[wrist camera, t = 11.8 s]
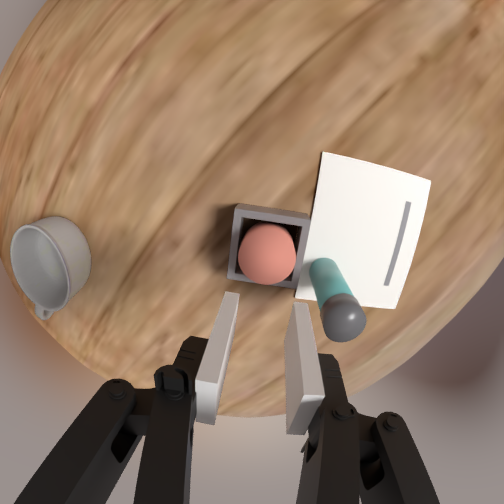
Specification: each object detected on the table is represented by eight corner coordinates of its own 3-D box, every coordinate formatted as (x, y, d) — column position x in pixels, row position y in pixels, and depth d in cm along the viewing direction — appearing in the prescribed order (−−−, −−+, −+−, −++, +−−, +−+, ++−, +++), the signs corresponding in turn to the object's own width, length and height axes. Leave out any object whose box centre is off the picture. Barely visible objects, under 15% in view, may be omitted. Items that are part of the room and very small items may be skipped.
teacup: (58, 194, 28) (16, 207, 21) (114, 240, 30) (74, 265, 22) (39, 270, 33) (6, 292, 25) (86, 313, 34) (56, 343, 26)
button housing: (238, 203, 27) (234, 208, 24) (307, 213, 27) (311, 220, 24) (231, 266, 30) (226, 278, 27) (294, 276, 29) (296, 288, 27)
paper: (322, 151, 25) (323, 151, 25) (430, 180, 25) (431, 180, 24) (294, 297, 30) (295, 298, 30) (394, 308, 30) (395, 309, 30)
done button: (245, 217, 26) (241, 226, 23) (297, 225, 26) (300, 235, 23) (239, 265, 28) (235, 279, 24) (288, 273, 28) (290, 288, 24)
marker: (310, 255, 28) (329, 305, 19) (341, 258, 28) (371, 307, 19) (306, 284, 29) (320, 341, 20) (335, 286, 29) (359, 342, 20)
